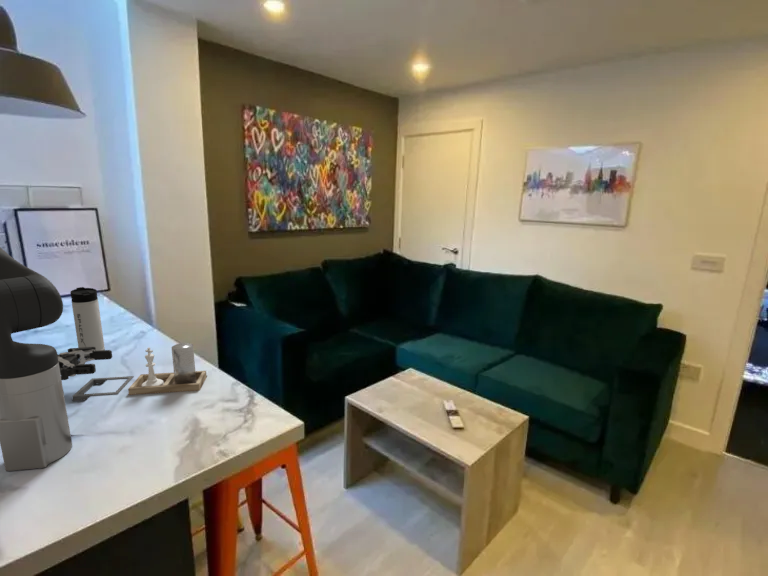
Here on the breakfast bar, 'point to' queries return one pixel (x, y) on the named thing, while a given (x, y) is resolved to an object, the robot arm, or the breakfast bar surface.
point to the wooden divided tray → (166, 384)
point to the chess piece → (151, 371)
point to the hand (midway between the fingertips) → (103, 361)
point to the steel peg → (184, 363)
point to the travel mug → (87, 318)
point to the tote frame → (80, 394)
